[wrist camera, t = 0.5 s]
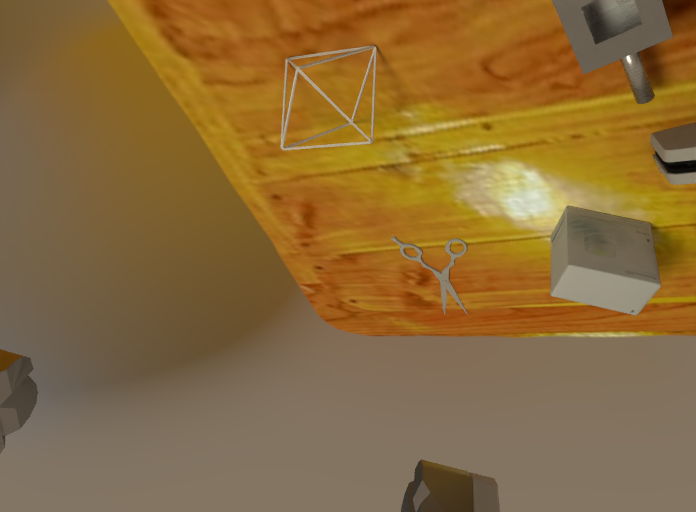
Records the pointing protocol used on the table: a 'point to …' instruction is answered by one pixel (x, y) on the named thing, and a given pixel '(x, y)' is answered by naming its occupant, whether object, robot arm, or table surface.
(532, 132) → the table surface
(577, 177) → the table surface
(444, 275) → the scissors
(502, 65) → the table surface
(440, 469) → the robot arm
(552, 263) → the skincare box
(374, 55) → the geometric polyhedron
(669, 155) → the grey curved-top slotted block
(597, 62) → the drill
